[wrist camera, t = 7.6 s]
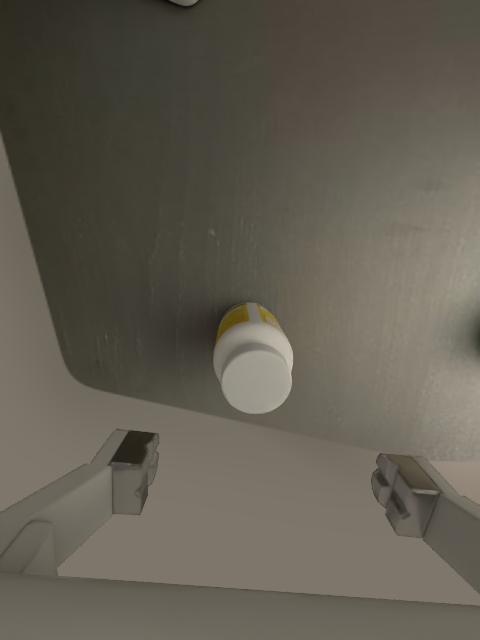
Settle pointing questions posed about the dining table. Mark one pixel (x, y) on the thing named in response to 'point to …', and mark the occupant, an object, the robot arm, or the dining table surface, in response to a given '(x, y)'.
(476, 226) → the dining table surface
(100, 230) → the dining table surface
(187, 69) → the dining table surface
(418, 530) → the robot arm
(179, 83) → the dining table surface
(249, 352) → the supplement bottle
